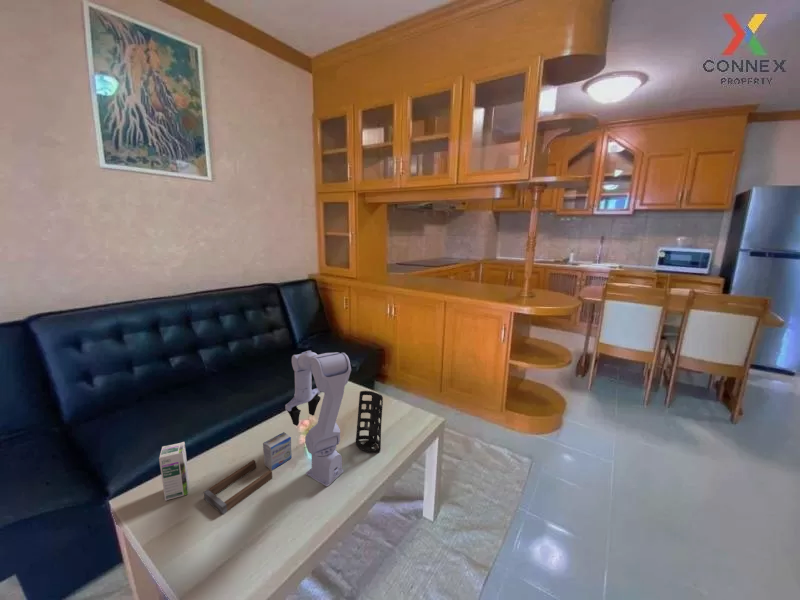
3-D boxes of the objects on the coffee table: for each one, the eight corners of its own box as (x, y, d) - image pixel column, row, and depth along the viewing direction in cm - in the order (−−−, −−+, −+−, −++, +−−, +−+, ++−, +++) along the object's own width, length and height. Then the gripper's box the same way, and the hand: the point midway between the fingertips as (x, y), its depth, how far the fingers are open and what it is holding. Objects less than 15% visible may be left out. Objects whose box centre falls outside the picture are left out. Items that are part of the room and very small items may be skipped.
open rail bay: (272, 478, 105) (272, 471, 105) (222, 514, 92) (222, 507, 91) (253, 466, 110) (253, 459, 109) (204, 499, 96) (203, 491, 96)
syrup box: (164, 501, 95) (158, 458, 92) (167, 487, 100) (161, 445, 97) (187, 495, 97) (182, 452, 94) (189, 481, 103) (184, 440, 99)
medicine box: (271, 471, 108) (270, 448, 106) (263, 464, 111) (262, 442, 109) (292, 458, 114) (291, 436, 112) (284, 452, 117) (283, 431, 115)
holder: (349, 446, 121) (354, 395, 118) (359, 436, 128) (364, 387, 125) (376, 455, 117) (381, 403, 114) (385, 445, 124) (390, 395, 121)
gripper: (310, 374, 125) (310, 406, 128) (278, 390, 113) (280, 425, 116) (324, 380, 122) (324, 412, 125) (293, 396, 110) (294, 432, 113)
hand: (303, 419), depth 120 cm, fingers open, 7 cm apart
